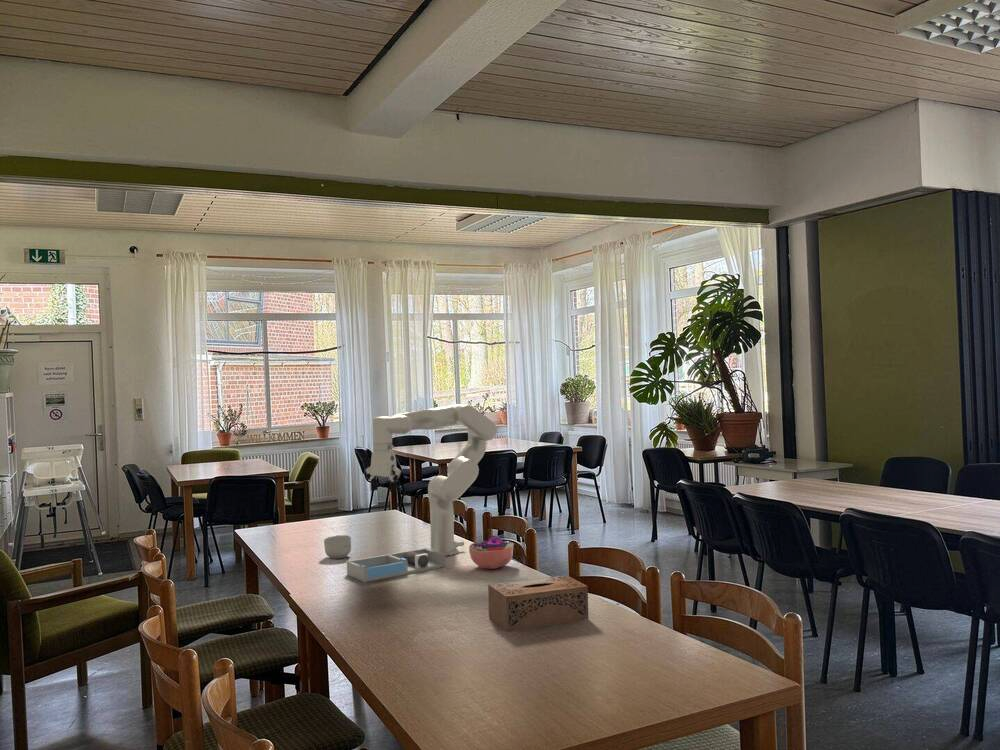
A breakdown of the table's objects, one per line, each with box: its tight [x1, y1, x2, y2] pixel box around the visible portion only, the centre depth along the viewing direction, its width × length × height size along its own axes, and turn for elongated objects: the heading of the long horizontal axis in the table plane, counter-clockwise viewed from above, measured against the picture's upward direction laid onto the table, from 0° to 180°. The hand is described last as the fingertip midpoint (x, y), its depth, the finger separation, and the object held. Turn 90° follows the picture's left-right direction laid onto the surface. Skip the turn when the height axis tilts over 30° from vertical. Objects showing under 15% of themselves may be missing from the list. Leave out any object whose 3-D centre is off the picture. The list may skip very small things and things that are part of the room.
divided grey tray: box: [346, 547, 446, 583], centre depth 298 cm, size 34×14×5 cm, turn 126°
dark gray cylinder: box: [405, 550, 428, 568], centre depth 303 cm, size 10×4×4 cm, turn 36°
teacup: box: [323, 534, 352, 560], centre depth 325 cm, size 14×11×8 cm
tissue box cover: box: [487, 574, 589, 632], centre depth 236 cm, size 26×14×10 cm, turn 111°
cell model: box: [468, 535, 514, 570], centre depth 300 cm, size 17×20×11 cm
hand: (383, 491), depth 315 cm, fingers open, 9 cm apart
